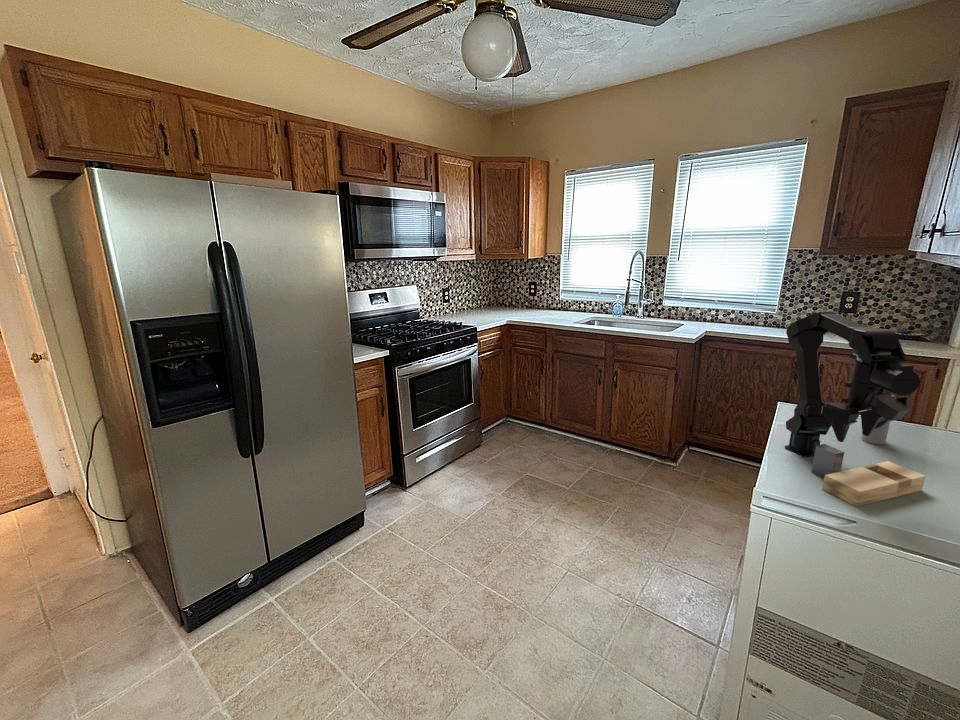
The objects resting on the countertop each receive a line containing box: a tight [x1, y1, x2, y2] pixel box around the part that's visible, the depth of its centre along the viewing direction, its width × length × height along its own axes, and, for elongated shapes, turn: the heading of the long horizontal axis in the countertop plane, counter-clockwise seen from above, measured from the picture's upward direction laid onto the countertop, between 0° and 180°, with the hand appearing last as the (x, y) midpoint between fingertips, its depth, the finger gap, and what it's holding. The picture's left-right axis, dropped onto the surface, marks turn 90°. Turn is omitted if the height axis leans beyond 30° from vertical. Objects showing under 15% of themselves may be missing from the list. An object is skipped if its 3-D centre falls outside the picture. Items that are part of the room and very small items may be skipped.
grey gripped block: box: [810, 443, 845, 479], centre depth 112 cm, size 5×3×8 cm, turn 15°
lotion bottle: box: [860, 390, 896, 445], centre depth 129 cm, size 6×6×20 cm
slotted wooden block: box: [821, 460, 927, 508], centre depth 106 cm, size 8×22×4 cm, turn 105°
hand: (853, 438), depth 107 cm, fingers open, 9 cm apart
